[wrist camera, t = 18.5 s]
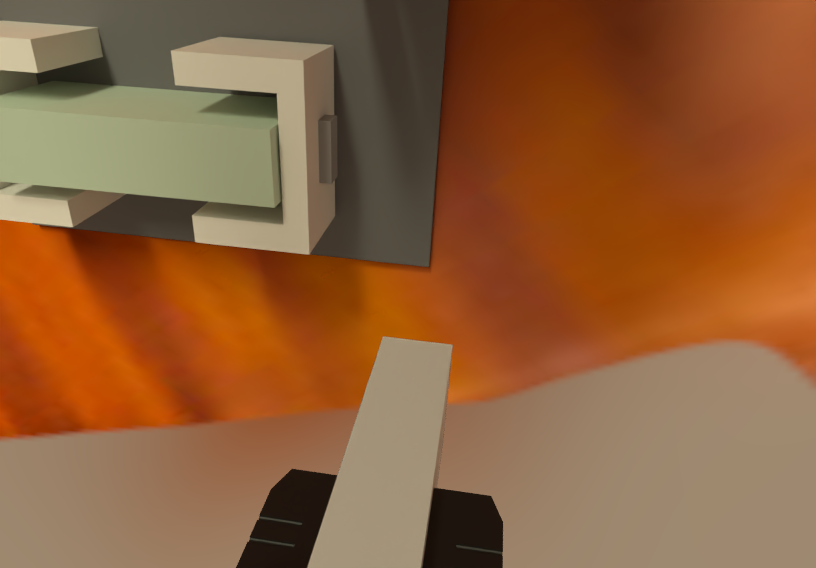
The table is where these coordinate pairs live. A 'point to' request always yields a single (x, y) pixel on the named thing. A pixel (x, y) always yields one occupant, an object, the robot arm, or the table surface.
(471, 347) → the table surface
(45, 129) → the slat
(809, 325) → the table surface
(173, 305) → the table surface
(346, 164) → the mat
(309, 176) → the cap
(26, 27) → the cap
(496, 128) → the table surface
